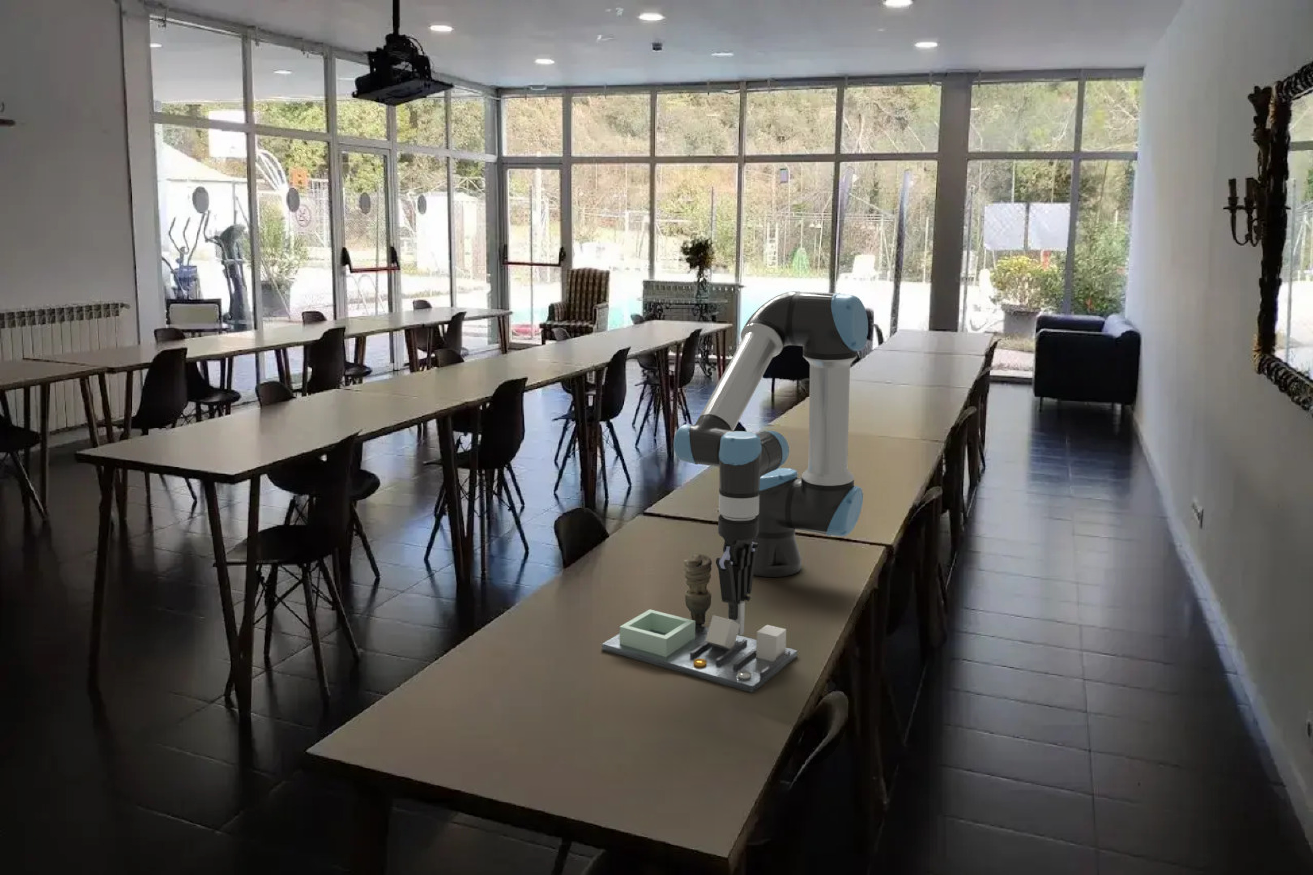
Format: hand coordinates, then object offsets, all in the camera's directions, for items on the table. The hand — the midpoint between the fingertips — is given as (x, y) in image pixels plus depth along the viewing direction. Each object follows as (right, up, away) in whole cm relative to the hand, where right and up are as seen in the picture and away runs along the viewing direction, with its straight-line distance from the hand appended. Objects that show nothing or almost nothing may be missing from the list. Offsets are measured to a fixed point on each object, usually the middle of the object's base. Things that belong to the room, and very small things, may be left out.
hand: (735, 633), depth 195 cm
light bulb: (-7, -1, +10) cm, 12 cm away
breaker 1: (-4, -1, -5) cm, 7 cm away
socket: (-15, -1, -1) cm, 15 cm away
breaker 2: (+6, -3, -7) cm, 10 cm away
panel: (-7, -3, -3) cm, 8 cm away
